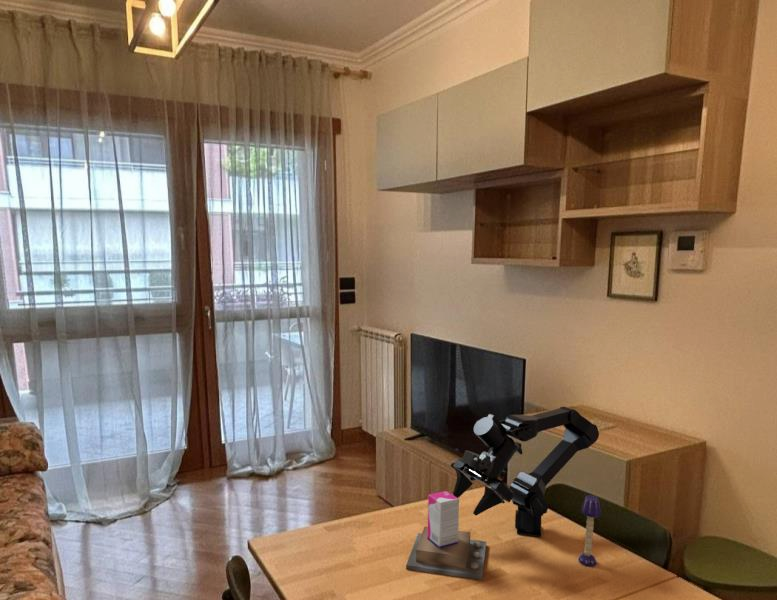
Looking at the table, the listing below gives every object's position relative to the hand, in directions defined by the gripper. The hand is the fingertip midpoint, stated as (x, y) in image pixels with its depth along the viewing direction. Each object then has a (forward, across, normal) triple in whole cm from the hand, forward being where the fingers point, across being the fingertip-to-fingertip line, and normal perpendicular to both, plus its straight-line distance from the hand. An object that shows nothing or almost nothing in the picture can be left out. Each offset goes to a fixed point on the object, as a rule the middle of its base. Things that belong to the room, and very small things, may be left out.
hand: (463, 506), depth 137 cm
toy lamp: (-9, +19, +26) cm, 33 cm away
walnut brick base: (+12, 0, +4) cm, 13 cm away
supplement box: (+10, 0, +1) cm, 10 cm away
